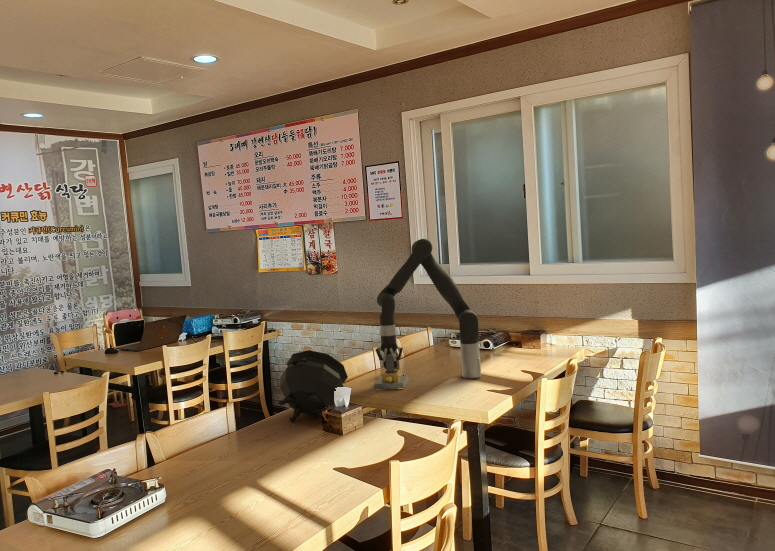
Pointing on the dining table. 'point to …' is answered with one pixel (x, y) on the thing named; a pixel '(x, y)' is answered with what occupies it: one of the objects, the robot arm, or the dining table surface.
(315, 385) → the cauldron
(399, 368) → the condiment
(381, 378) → the square stand
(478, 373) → the robot arm
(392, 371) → the gray rectangular block
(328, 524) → the dining table surface
